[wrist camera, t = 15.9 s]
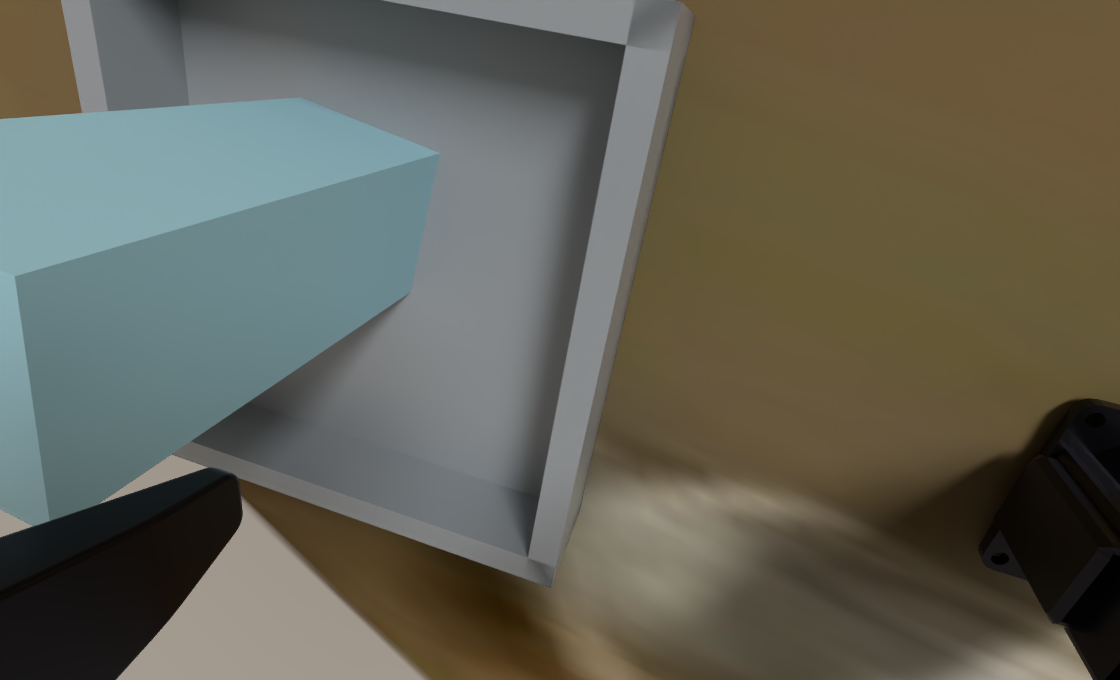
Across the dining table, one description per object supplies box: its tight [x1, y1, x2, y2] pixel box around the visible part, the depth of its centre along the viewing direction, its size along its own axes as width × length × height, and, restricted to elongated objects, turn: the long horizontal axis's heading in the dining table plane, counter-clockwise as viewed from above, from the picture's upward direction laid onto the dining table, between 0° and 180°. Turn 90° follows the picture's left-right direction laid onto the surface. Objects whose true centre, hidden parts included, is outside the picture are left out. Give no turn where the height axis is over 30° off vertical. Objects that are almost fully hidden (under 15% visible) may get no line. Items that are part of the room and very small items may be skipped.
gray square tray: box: [61, 0, 695, 588], centre depth 20 cm, size 17×18×4 cm
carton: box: [0, 97, 440, 526], centre depth 14 cm, size 5×5×14 cm
